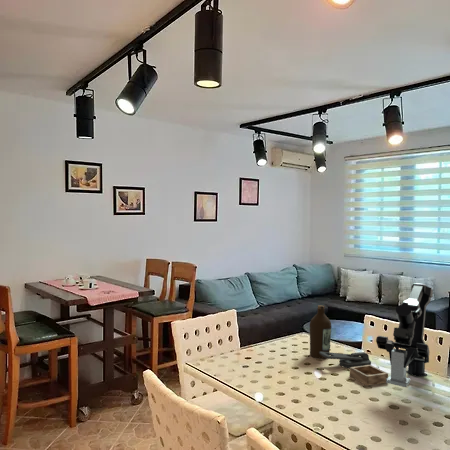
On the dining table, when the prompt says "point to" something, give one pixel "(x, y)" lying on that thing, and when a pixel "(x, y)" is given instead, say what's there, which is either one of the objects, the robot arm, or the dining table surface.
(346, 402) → the dining table surface
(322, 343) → the olive oil
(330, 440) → the dining table surface
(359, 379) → the well
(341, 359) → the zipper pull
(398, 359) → the bracket post
